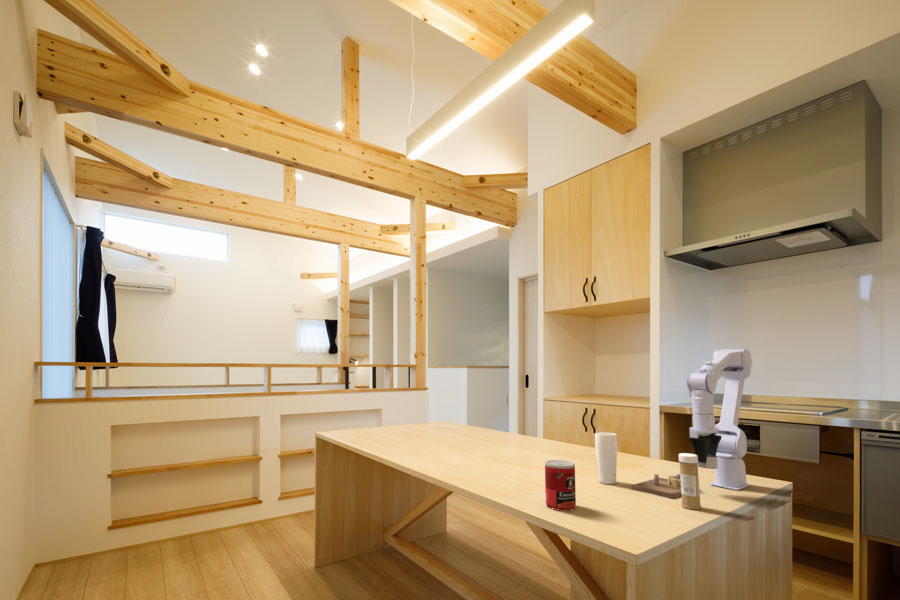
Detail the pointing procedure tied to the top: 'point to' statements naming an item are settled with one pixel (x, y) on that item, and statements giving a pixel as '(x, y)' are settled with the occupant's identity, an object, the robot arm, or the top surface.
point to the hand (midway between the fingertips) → (706, 461)
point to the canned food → (560, 484)
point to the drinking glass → (606, 456)
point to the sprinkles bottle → (689, 481)
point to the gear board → (661, 486)
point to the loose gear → (709, 462)
